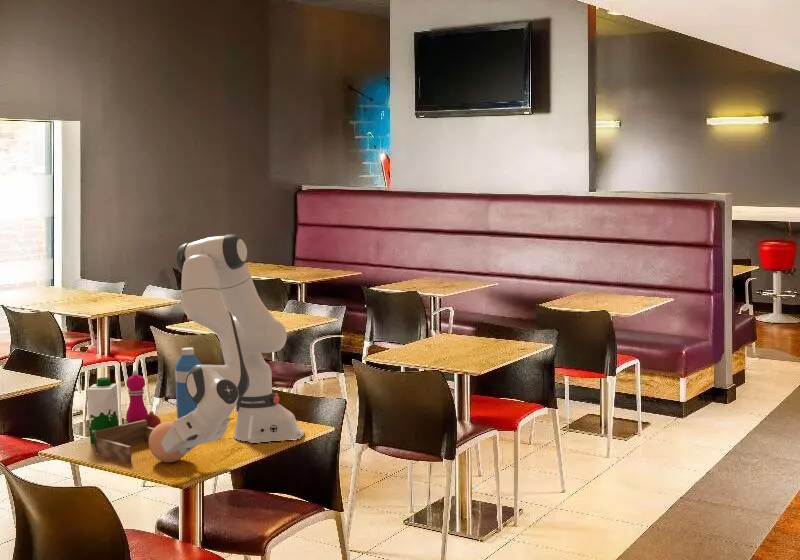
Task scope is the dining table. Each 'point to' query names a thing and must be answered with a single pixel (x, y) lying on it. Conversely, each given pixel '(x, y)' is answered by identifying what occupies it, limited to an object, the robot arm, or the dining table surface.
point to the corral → (121, 440)
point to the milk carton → (102, 406)
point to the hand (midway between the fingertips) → (184, 451)
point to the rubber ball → (156, 445)
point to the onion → (152, 420)
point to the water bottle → (181, 373)
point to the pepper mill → (136, 398)
